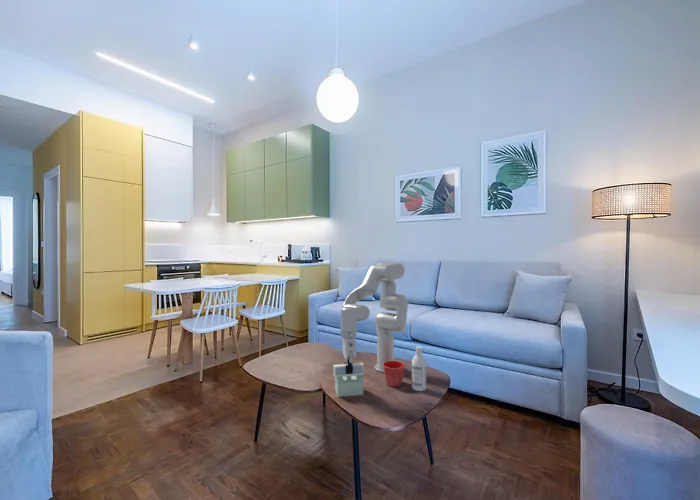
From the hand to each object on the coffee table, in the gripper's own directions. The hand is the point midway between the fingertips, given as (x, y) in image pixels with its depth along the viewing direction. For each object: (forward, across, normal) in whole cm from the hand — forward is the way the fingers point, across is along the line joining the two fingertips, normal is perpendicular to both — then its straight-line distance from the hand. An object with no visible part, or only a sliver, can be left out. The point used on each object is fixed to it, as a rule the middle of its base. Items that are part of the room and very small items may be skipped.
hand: (348, 372), depth 149 cm
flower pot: (+10, +5, -24) cm, 27 cm away
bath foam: (+10, -3, -34) cm, 36 cm away
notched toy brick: (+10, 0, 0) cm, 10 cm away
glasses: (+2, 0, 0) cm, 2 cm away
